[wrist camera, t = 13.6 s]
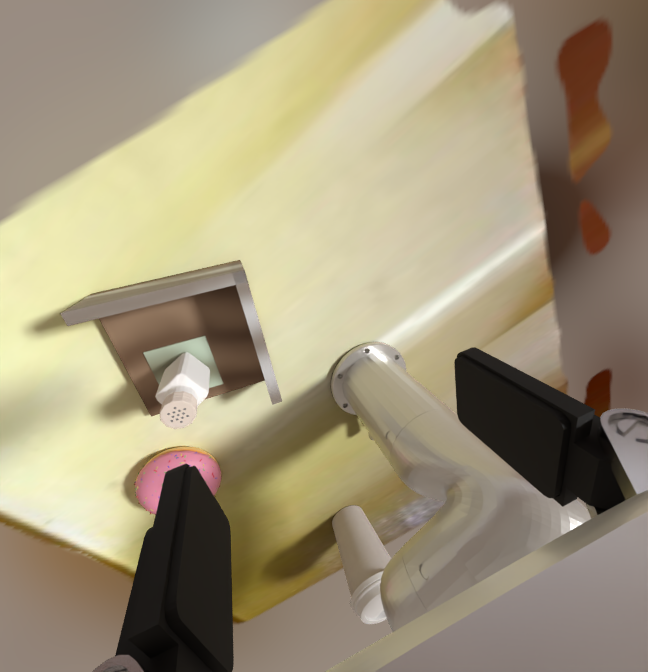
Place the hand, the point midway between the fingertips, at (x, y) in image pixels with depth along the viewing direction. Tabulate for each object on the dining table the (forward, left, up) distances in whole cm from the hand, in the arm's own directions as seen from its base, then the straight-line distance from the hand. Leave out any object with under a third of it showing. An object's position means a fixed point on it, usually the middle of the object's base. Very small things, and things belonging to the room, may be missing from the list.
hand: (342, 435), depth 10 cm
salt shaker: (-9, +11, -29) cm, 32 cm away
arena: (-6, +9, -30) cm, 32 cm away
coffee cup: (-50, -5, -30) cm, 59 cm away
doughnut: (-25, +18, -31) cm, 43 cm away
